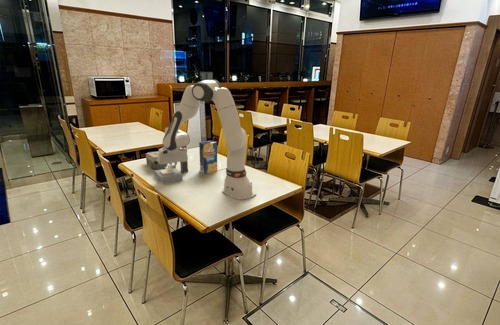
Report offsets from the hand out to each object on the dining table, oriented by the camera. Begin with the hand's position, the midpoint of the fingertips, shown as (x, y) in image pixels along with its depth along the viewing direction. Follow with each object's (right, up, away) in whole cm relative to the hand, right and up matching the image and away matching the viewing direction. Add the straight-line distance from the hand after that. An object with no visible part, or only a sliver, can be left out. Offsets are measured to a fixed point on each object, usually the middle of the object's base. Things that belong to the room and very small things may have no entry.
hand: (173, 168), depth 193 cm
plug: (+5, -2, +13) cm, 14 cm away
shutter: (-4, -3, -2) cm, 5 cm away
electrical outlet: (-19, +1, +22) cm, 29 cm away
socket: (-3, -7, 0) cm, 7 cm away
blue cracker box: (+22, -2, +15) cm, 27 cm away
